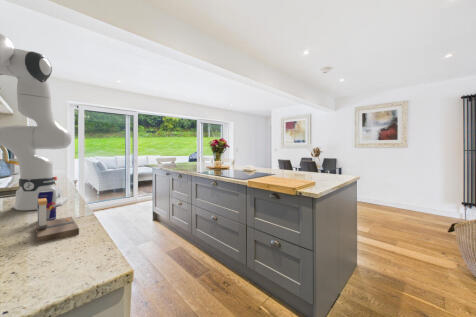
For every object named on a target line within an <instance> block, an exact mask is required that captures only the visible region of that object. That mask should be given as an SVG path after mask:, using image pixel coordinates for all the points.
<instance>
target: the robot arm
mask: <svg viewBox="0 0 476 317" xmlns="http://www.w3.org/2000/svg"><path fill="white" fill-rule="evenodd" d="M52 72H53V67H52V64H51V62H50V60H49V59H48V58H47V57H46V56H45V55H44V54H41V53H40V52H39V53H38V52H36V51H28V50H25V49H20V48H14V45H13V43H12V41H11V39H9V38H8V37H6V36H5V35H3V34H2V33H0V76H8V77H13V78H16V80H17V83H16V98H17V99H16V100H17V110H18V112H19V113H20V114H21V115H22V116H23V117H26V118H29V119H30V120H33V121H34V122H35V123H36V126H34V125H22V124H21V125H18V124H14V125H13V124H12V125H3V126H0V146H2V147H3V148H5V149H6V150H8V151H9V152H11V153H12V154H13V155H14V156H15V158H16V160H17V162H18V167H19V175H20V176H19V179H18V187H19V188H18V189H17V190H16V191H15V199H14V200H15V201H14V204H13V205H11V209H14V210H15V211H33V210H34V211H35V210H37V211H38V205H37V193H38V191H41V190H51V189H52V190H55V191H56V207H60V206H63V204H65V203H66V202H67V201H68V200H69V197H67V196H63V190H62V188H61V187H59V186H57V184H56V181H58V177H57V176H53V162H52V160H50V158H47V157H45V156H43V155H40V154H38V153H37V151H36V150H61V149H62V150H63V149H67V148H68V147H69V146H70V145H71V142H72V135H71V133H70V132H69V131H68V130H67V129H65V128H64V127H62V126H61V125H60V124H59V123H58V122H57V121H56V119H55V117H54V115H53V111H52V102H51V101H52V98H51V89H50V85H49V81H48V79H49V78H50V76H51V74H52Z"/></svg>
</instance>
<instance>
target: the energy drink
mask: <svg viewBox="0 0 476 317" xmlns="http://www.w3.org/2000/svg"><path fill="white" fill-rule="evenodd" d="M42 198H46V199H47V204H46V221H50V220H55V219H57V206H56V191H55V190H52V189H51V190H41V191H38V193H37V205H38V199H42ZM38 222H39V205H38V209H37V223H38Z"/></svg>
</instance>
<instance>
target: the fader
mask: <svg viewBox="0 0 476 317" xmlns="http://www.w3.org/2000/svg"><path fill="white" fill-rule="evenodd" d="M46 204H47V199H46V198H42V199H38V205H39V223H38V222H37V223H38V227H39V229H43V228H47V222H46Z"/></svg>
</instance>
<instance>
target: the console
mask: <svg viewBox="0 0 476 317" xmlns="http://www.w3.org/2000/svg"><path fill="white" fill-rule="evenodd" d="M46 222H47V228H43V229H39V227H38V223H39V222H38V221H37V222H35V232H36V233H35V234H36V243H37V244H42V243H46V242H50V241H54V240H55V241H56V240H58V239H63V238H68V237H72V236H77V235H79V234H80V227H79V226H78V224H77V223H76V221H75V220H74V218H73V216H67V217H62V218H61V217H60V218H56V219H55V220H50V221H46Z"/></svg>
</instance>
